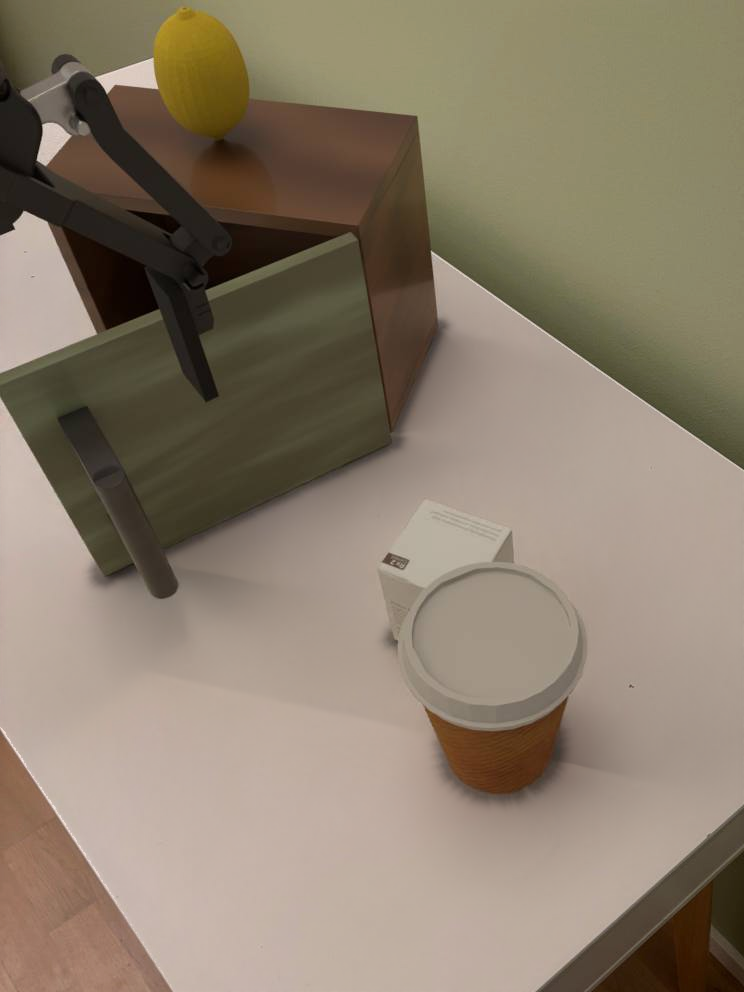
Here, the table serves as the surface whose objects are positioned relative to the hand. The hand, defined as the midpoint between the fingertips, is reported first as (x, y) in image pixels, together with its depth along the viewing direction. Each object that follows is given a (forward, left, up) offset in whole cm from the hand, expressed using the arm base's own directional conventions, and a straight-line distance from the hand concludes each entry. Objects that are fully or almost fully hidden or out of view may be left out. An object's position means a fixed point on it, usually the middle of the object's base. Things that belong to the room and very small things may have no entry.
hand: (79, 443), depth 52 cm
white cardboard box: (+17, +5, -18) cm, 25 cm away
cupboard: (-3, +26, -17) cm, 32 cm away
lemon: (-4, +27, -1) cm, 28 cm away
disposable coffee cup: (+22, -3, -18) cm, 28 cm away
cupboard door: (+3, +9, -17) cm, 20 cm away
